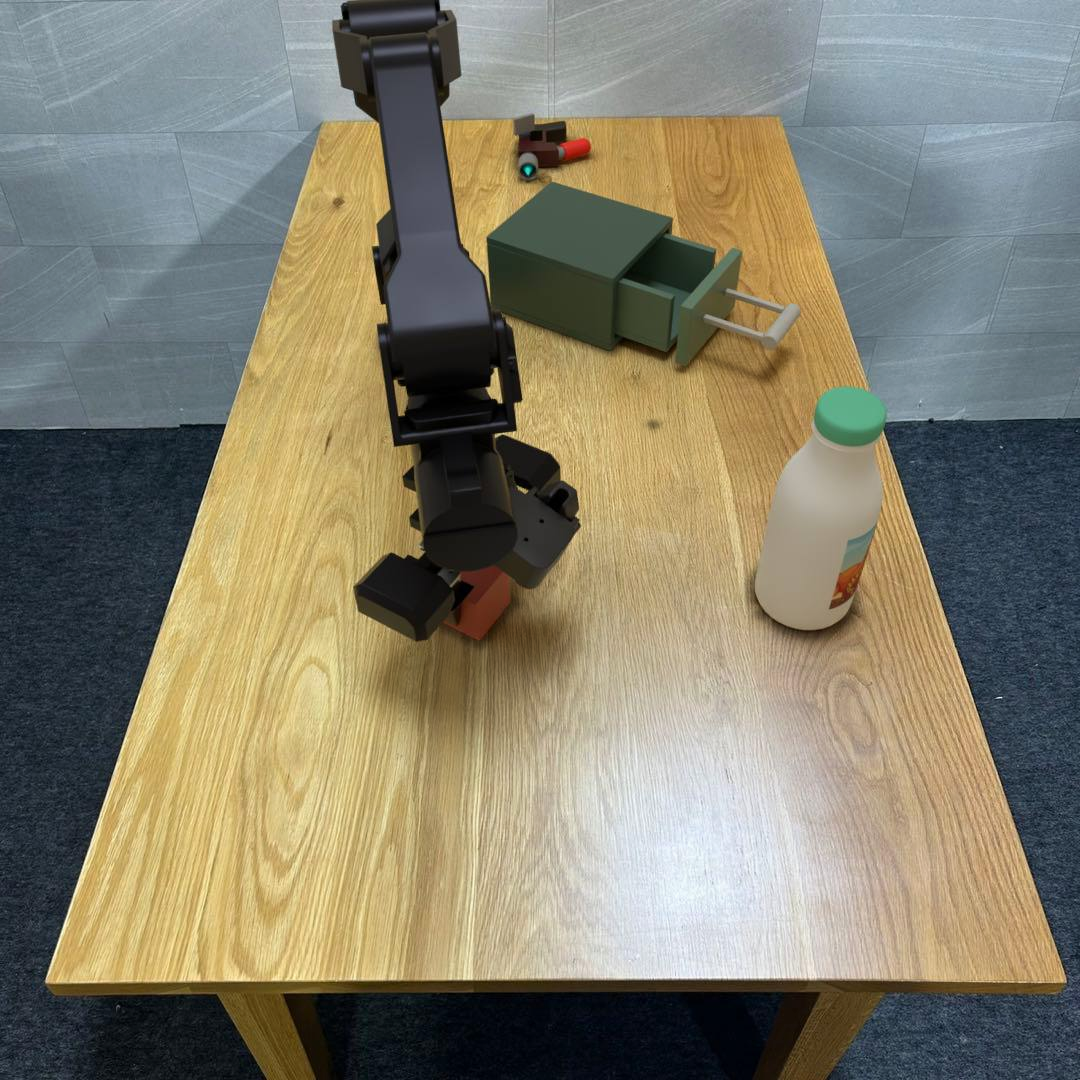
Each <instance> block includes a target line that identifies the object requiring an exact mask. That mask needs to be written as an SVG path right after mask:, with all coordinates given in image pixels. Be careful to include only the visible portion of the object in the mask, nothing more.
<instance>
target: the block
mask: <svg viewBox="0 0 1080 1080" xmlns="http://www.w3.org/2000/svg"><path fill="white" fill-rule="evenodd" d="M460 580H462V581H464V582H466V583H468V584H471V585H473V586H474V587H475V588H474V589H473V590H472V591H471V592H470V594H469V595H468V596H467V597H466V598H465V600H464V601H463V602H462V603H461V618H460V624H459V625H458V626H454V625H452V624H450V623H448V622H446V621H445V620H444V621H443V622H442V624H444V625H446V626H448V627H450V628H451V629H452V628H453V629H454V630H456V631H459V632H460V633H462V634H464V635H466V636H468V637H470V638H472V639H474V640H475V641H478V642H480V641H481V640H482V639H483V637H484V636H486V633H487V632H488V631H489V630H490V628H491V627H492V626H493V625H494V624H495V623H496V621H497V620H498V619H499V618H500V616H501V615H502V614H503V612H504V611H505V610H506V609H507V608H508V606H509V605H510V604H511V602H512V599H511V583H510V582H511V581H510V576H508V575H507V574H506V573H504V572H503V571H502V570H500V569H499V568H498V567H496V566H495V565H493V566H491V567H488V568H485V569H481V570H477V571H470V572H461V576H460Z"/></svg>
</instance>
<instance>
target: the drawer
mask: <svg viewBox="0 0 1080 1080" xmlns="http://www.w3.org/2000/svg"><path fill="white" fill-rule="evenodd" d="M716 256H717V248H715V247H713V246H709V245H707V244H702V243H699V242H696V241H693V240H690V239H686V238H683V237H680V236H676V235H674V234H672V235H670V234H667V233H664V234H663V235H662V236H661V237H660V238H659V239H658V240H657V241H656V242H655V243H654V244H653V245H652V246H651V247H650V248H649V249H648V250H647V251H646V252H645V253H644V254H643V255H642V256H641V257H640V258H639V259H638V260H637V261H636V262H635V263H634V264H633V265H632V266H631V267H630V268H629V270H628V271H627V272H626V273H625V274H624V275H623V276H622V277H621V278H620V279H619V280H618V281H617V282H616V283H617V284H616V307H615V330H614V334H617V335H619V336H622V337H623V338H625V339H628V340H631V341H634V342H635V343H639V344H643V345H645V346H648V347H650V348H654V349H656V350H659V351H662V352H665V353H667V352H668V351H669V350H670V349H671V347H673V345H674V344H675V343H676V342H677V343H676V350H675V358H674V359H675V360H674V363H675V364H677V365H680V366H684V367H687V365H688V364H689V363H690V362H691V361H692V359H693V358H694V357H695V356H696V354H697V353H698V352H699V351H700V350H701V348H702V347H703V346H704V345H705V344H706V343H707V341H708V340H709V339H710V338H711V336H713V334H714V332H716V330H717V329H718V328H720V329H723V330H726V331H728V332H732V333H735V334H738V335H741V336H743V337H747V338H750V339H753V340H755V341H759V342H760V343H761V346H762V347H763V348H764V349H765V350H768V351H773V350H775V349H777V347H778V346H779V344H780V343H781V342H782V340H783V339H784V338H785V336H786V335H787V334H788V333H789V331H790V330H791V328H792V327H793V326H794V324H795V323H796V321H798V319H799V317H801V314H802V309H801V307H800V306H799V305H798V304H796V303H788V304H787V305H786V306H784V305H781V304H778V303H775V302H772V301H770V300H769V301H768V300H765V299H763V298H759V297H758V296H753V295H750V294H748V293H744V292H741V291H738V285H739V279H740V273H741V264H742V257H743V249H738V248H734V247H731V248H730V249H729V250H728V252H726V253H725V255H724V256H722V258H721V259H720V261H718V262H717V264H716ZM736 301H739V302H743V303H746V304H749V305H751V306H754V307H757V308H762V309H764V310H766V311H767V310H768V311H770V312H773V313H776V314H779V315H778V316H777V318H776V319H775V321H774V322H773V323H772V324H771V325H770V326H769V328H768V330H766V332H765V333H764V332H761V331H757V330H755V329H752V328H749V327H745V326H743V325H740V324H737V323H734V322H731V321H728V320H726V318H727V317H728V316H729V314H731V312H732V311H733V310H734V308H735V306H736Z"/></svg>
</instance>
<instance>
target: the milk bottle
mask: <svg viewBox="0 0 1080 1080" xmlns="http://www.w3.org/2000/svg"><path fill="white" fill-rule="evenodd" d="M887 417H888V412H887V407H886V405H885V403H884V402H883V401H882V399H881V398H880V397H879V396H878V395H876V394H875V393H873V392H871V391H870V390H867V389H866V388H865V389H864V388H862V387H857V386H849V385H848V386H847V385H845V386H844V385H843V386H836V387H833V388H830V389H828V390H826V391H825V392H824V393H822V394H821V395H820V397H819V399H818V400H817V402H816V405H815V408H814V414H813V419H812V423H811V430H812V434H811V435H810V437H809V439H808V440H807V441H806V443H804V444H803V445H802V446H801V448H800V449H798V451H796V452H795V454H794V455H793V456H792V457H790V459H789V460H788V462H787V463H786V464H785V466H784V468H783V470H782V471H781V473H780V476H779V478H778V480H777V482H776V486H775V489H774V493H773V496H772V501H771V505H770V509H769V513H768V517H767V522H766V526H765V530H764V536H763V540H762V546H761V550H760V556H759V558H758V564H757V569H756V574H755V580H754V592H755V596H756V598H757V600H758V603H759V605H760V606H761V608H762V609H763V611H764V612H765V613H766V614H767V615H768V616H769V617H770V618H772V619H774V620H775V621H776V622H777V623H780V624H782V625H784V626H786V627H788V628H792V629H795V630H802V631H816V630H823V629H826V628H829V627H831V626H833V625H834V624H836V623H838V622H839V621H841V620H842V619H843V618H844V617H845V616H846V615H847V613H848V612H849V609H850V608H851V606H852V603H853V600H854V597H855V595H856V592H857V589H858V586H859V583H860V579H861V577H862V573H863V570H864V568H865V564H866V561H867V558H868V555H869V552H870V549H871V546H872V543H873V539H874V537H875V532H876V530H877V526H878V523H879V518H880V515H881V512H882V511H881V510H882V505H883V500H884V499H883V496H884V495H883V494H884V493H883V492H884V491H883V489H884V488H883V479H882V475H881V471H880V468H879V465H878V463H877V457H876V446H877V445H878V444H879V443H880V441H881V439H882V433H883V431H884V429H885V426H886V422H887Z"/></svg>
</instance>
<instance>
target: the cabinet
mask: <svg viewBox="0 0 1080 1080" xmlns="http://www.w3.org/2000/svg"><path fill="white" fill-rule="evenodd" d="M673 223H674V218H673V217H672V216H669V215H665V214H662V213H659V212H656V211H652V210H648V209H645V208H642V207H639V206H636V205H632V204H628V203H626V202H622V201H618V200H614V199H611V198H609V197H605V196H603V195H602V196H601V195H599V194H596V193H593V192H592V193H591V192H589V191H585V190H583V189H579V188H576V187H572V186H568V185H566V184H562V183H559V182H555V181H550V182H549V183H548V184H546V185H545V186H544V187H543V188H542V189H541V190H539V191H538V192H537V193H536V194H535V195H533V196H532V197H531V198H529V200H528V201H526V203H524V204H523V205H522V206H520V207H519V208H518V209H517V210H516V211H514V213H513V214H511V215H510V216H509V217H508V218H507V219H505V220H503V222H502V223H501V224H499V226H497V227H496V228H495V229H494V230H492V231H491V232H490V233H488V235H486V237H485V238H486V239H485V240H486V253H487V270H488V285H489V286H488V287H489V300H490V306H491V309H492V310H498V309H500V310H501V313H504V314H507V315H509V316H512V317H515V318H518V319H521V320H523V321H526V322H529V323H531V324H533V325H534V324H535V325H537V326H540V327H543V328H546V329H548V330H551V331H554V332H556V333H559V334H562V335H565V336H567V337H570V338H573V339H574V340H575V339H576V340H579V341H581V342H584V343H587V344H590V345H591V346H595V347H598V348H601V349H603V350H606V351H609V352H611V351H612V350H613V349H614V348H615V346H617V344H618V343H619V342H620V341H621V340H622V339H623V338H624V337H622V336H619V335H617V334H614V330H615V307H616V284H617V283H616V282H617V281H618V280H619V279H620V278H621V277H622V276H623V275H624V274H625V273H626V272H627V271H628V270H629V268H630V267H631V266H632V265H633V264H634V263H635V262H636V261H637V260H638V259H639V258H640V257H641V256H642V255H643V254H644V253H645V252H646V251H647V250H648V249H649V248H650V247H651V246H652V245H653V244H654V243H655V242H656V241H657V240H658V239H659V238H660V237H661V236H662V235H663V234H664V233H667V234H670V235H673V234H672V233H673V225H674V224H673Z"/></svg>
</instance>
